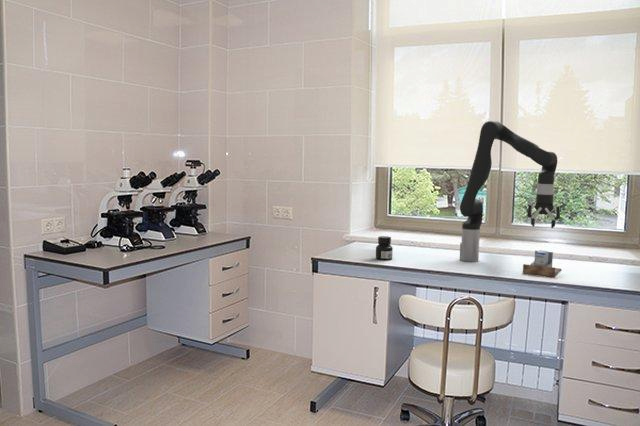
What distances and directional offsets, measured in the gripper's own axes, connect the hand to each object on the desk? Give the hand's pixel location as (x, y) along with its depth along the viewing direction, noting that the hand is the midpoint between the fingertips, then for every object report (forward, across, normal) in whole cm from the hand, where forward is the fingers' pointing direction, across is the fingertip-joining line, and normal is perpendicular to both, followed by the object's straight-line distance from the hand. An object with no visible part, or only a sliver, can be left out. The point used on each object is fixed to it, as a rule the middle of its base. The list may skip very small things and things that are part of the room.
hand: (542, 227), depth 254 cm
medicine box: (+21, +1, -1) cm, 21 cm away
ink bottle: (+23, -76, -14) cm, 81 cm away
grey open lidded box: (+22, +1, -1) cm, 22 cm away
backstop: (+22, +1, +3) cm, 22 cm away
